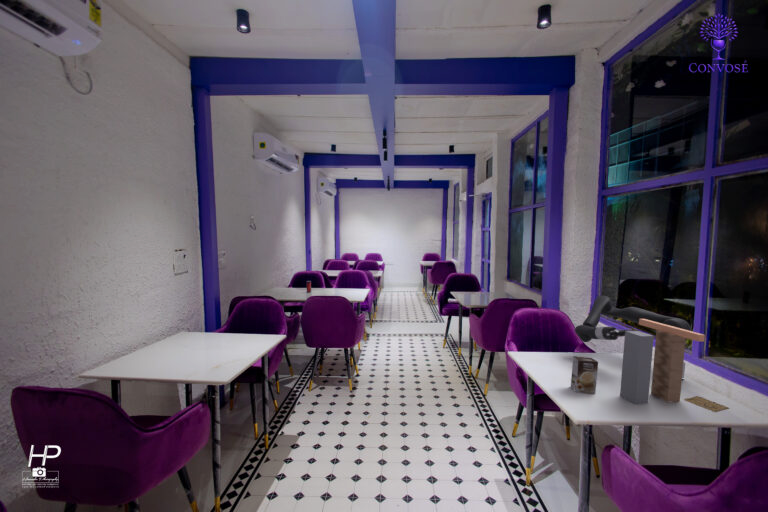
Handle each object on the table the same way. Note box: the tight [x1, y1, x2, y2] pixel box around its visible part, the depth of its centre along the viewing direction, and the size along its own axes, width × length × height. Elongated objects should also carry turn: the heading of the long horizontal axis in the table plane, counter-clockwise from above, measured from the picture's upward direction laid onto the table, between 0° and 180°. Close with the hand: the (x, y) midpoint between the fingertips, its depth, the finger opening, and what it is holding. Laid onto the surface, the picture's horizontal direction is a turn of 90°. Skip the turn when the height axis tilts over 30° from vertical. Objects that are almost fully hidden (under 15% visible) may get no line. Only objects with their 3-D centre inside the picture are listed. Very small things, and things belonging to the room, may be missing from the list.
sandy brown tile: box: [683, 395, 730, 413], centre depth 154 cm, size 12×12×1 cm
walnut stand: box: [650, 330, 687, 403], centre depth 158 cm, size 8×7×32 cm
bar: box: [638, 319, 706, 343], centre depth 158 cm, size 28×3×3 cm, turn 10°
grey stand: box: [619, 330, 655, 405], centre depth 155 cm, size 8×7×32 cm
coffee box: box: [570, 355, 599, 394], centre depth 163 cm, size 9×6×16 cm
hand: (633, 333), depth 176 cm, fingers open, 8 cm apart
